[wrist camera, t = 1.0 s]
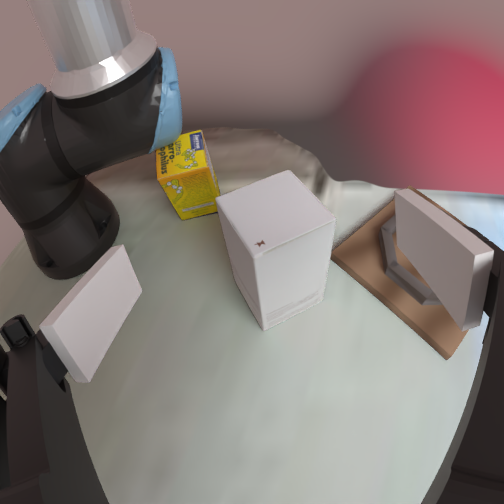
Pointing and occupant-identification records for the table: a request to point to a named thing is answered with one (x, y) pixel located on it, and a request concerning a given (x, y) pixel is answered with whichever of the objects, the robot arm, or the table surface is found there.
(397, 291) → the mount plate
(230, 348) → the table surface
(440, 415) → the table surface
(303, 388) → the table surface
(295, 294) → the supplement box
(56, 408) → the robot arm
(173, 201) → the supplement box
